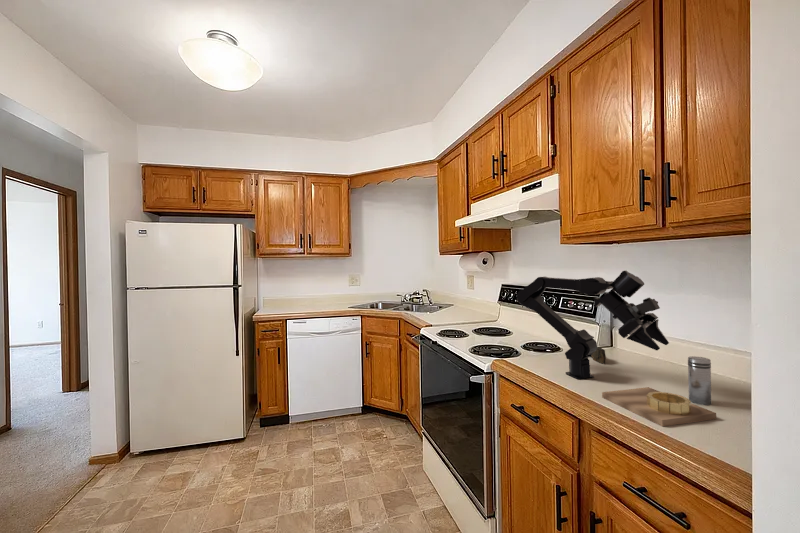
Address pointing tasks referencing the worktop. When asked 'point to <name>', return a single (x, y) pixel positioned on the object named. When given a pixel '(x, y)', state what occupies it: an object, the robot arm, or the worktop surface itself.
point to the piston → (699, 380)
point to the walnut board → (638, 404)
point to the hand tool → (599, 355)
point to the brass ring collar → (669, 403)
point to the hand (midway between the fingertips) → (663, 346)
